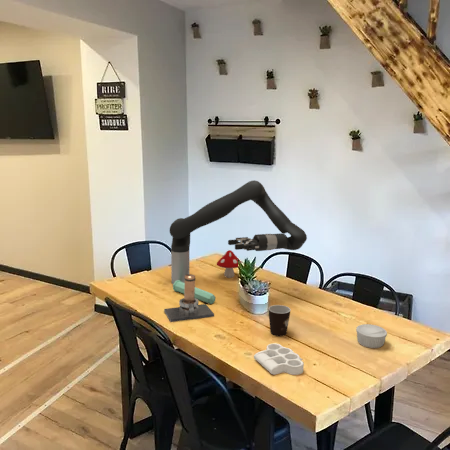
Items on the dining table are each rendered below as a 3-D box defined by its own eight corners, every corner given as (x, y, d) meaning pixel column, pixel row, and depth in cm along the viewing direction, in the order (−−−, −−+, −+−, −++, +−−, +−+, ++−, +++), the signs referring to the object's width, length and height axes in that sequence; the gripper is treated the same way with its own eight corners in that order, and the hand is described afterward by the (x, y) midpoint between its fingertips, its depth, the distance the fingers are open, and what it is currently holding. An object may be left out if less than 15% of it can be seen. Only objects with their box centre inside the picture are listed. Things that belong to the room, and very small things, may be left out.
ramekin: (381, 352, 174) (382, 339, 173) (351, 345, 180) (352, 331, 179) (389, 341, 183) (390, 328, 182) (360, 334, 189) (361, 321, 188)
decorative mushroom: (210, 276, 257) (210, 249, 253) (229, 271, 266) (229, 245, 263) (228, 283, 246) (229, 255, 243) (247, 277, 256) (248, 250, 252)
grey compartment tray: (249, 357, 170) (283, 349, 176) (276, 381, 154) (313, 371, 160) (249, 348, 169) (284, 340, 176) (276, 371, 153) (313, 362, 160)
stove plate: (164, 311, 208) (164, 298, 207) (205, 306, 215) (205, 293, 214) (170, 322, 197) (170, 308, 196) (214, 316, 204) (214, 303, 202)
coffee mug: (275, 339, 183) (276, 314, 181) (263, 330, 191) (264, 307, 189) (300, 333, 188) (301, 309, 186) (287, 325, 196) (288, 302, 194)
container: (215, 291, 218) (179, 277, 234) (207, 298, 214) (171, 284, 231) (219, 301, 220) (183, 287, 237) (210, 308, 217) (174, 294, 234)
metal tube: (182, 309, 207) (183, 274, 204) (192, 308, 209) (193, 273, 205) (185, 313, 203) (186, 278, 199) (195, 312, 205) (196, 277, 201)
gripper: (258, 230, 223) (226, 233, 218) (272, 237, 210) (237, 240, 205) (258, 246, 225) (226, 249, 219) (271, 254, 212) (237, 257, 206)
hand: (231, 244), depth 212 cm, fingers open, 8 cm apart
